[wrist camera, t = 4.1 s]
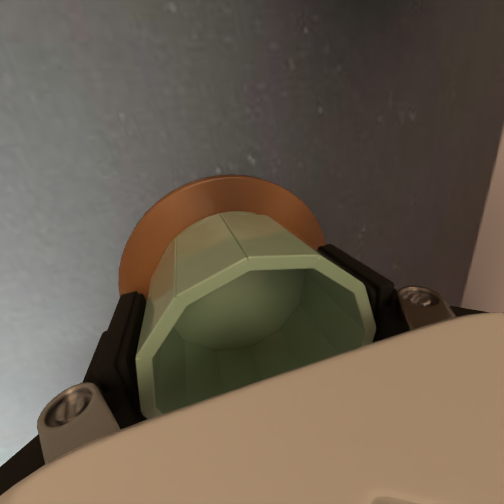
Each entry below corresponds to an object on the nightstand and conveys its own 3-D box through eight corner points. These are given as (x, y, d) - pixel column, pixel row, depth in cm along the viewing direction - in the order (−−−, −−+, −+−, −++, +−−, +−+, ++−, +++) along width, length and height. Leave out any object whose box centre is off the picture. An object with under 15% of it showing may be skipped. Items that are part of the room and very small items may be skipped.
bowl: (209, 176, 10) (236, 199, 5) (331, 257, 13) (413, 316, 8) (115, 330, 11) (75, 451, 7) (245, 371, 14) (277, 473, 10)
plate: (308, 147, 11) (315, 147, 11) (330, 318, 16) (336, 325, 15) (75, 214, 10) (68, 219, 9) (170, 382, 14) (170, 393, 13)
